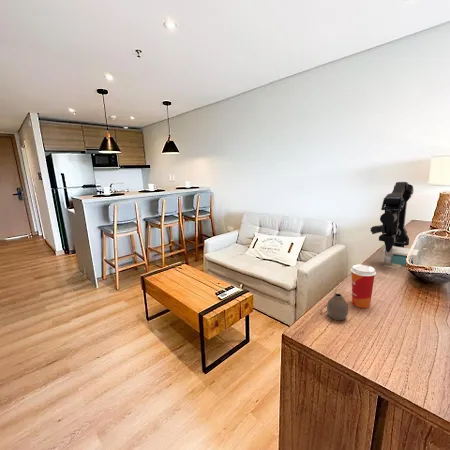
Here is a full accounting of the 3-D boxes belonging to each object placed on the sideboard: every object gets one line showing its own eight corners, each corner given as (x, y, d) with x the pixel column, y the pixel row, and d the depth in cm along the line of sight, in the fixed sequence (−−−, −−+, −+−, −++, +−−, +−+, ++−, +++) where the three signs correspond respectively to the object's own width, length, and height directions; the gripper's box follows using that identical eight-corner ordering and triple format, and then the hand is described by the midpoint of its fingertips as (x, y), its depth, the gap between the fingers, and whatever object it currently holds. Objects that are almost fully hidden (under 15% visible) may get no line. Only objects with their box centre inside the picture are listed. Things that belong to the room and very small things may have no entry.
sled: (388, 259, 135) (390, 239, 132) (409, 263, 128) (412, 242, 126) (382, 267, 125) (384, 245, 122) (405, 271, 118) (408, 249, 116)
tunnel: (385, 259, 136) (386, 245, 135) (417, 264, 127) (418, 249, 125) (381, 264, 129) (382, 250, 128) (414, 270, 120) (416, 255, 118)
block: (393, 259, 132) (394, 252, 131) (407, 261, 128) (408, 254, 127) (391, 262, 127) (392, 255, 127) (405, 265, 123) (406, 257, 123)
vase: (322, 315, 88) (323, 293, 87) (336, 309, 91) (337, 288, 89) (338, 325, 82) (339, 302, 80) (352, 319, 85) (353, 296, 83)
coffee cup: (353, 296, 100) (355, 262, 96) (376, 303, 94) (379, 267, 91) (345, 305, 94) (347, 268, 91) (369, 312, 88) (372, 274, 85)
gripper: (377, 216, 132) (375, 243, 135) (368, 222, 119) (365, 253, 122) (402, 218, 124) (399, 247, 128) (395, 225, 111) (392, 257, 115)
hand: (388, 251), depth 123 cm, fingers closed on sled, 3 cm apart
